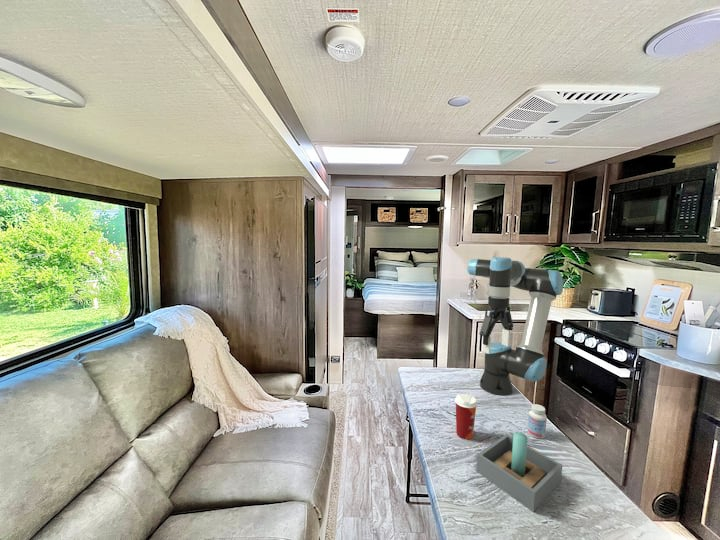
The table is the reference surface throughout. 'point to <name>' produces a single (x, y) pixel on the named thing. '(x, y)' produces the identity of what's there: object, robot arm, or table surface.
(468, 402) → the coffee cup
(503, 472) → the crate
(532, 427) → the pill bottle
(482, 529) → the table surface
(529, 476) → the bore block
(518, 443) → the peg
